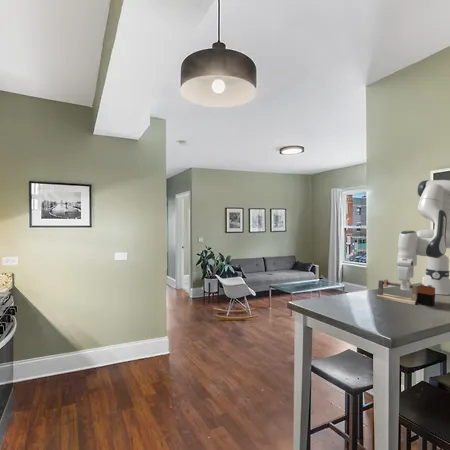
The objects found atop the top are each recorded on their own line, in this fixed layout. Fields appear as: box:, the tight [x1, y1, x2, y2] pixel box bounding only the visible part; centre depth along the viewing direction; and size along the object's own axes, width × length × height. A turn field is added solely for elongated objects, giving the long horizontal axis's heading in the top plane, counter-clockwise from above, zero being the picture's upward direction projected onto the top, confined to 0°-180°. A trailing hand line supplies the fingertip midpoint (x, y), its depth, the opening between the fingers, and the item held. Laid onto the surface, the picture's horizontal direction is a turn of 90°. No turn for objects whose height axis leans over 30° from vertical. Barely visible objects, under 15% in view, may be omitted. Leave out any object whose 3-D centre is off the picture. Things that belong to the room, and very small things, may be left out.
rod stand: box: [375, 279, 418, 306], centre depth 164 cm, size 10×18×10 cm, turn 49°
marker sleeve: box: [400, 281, 412, 292], centre depth 161 cm, size 4×4×4 cm
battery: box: [416, 283, 436, 307], centre depth 156 cm, size 4×7×10 cm, turn 37°
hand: (405, 287), depth 161 cm, fingers closed on marker sleeve, 4 cm apart
